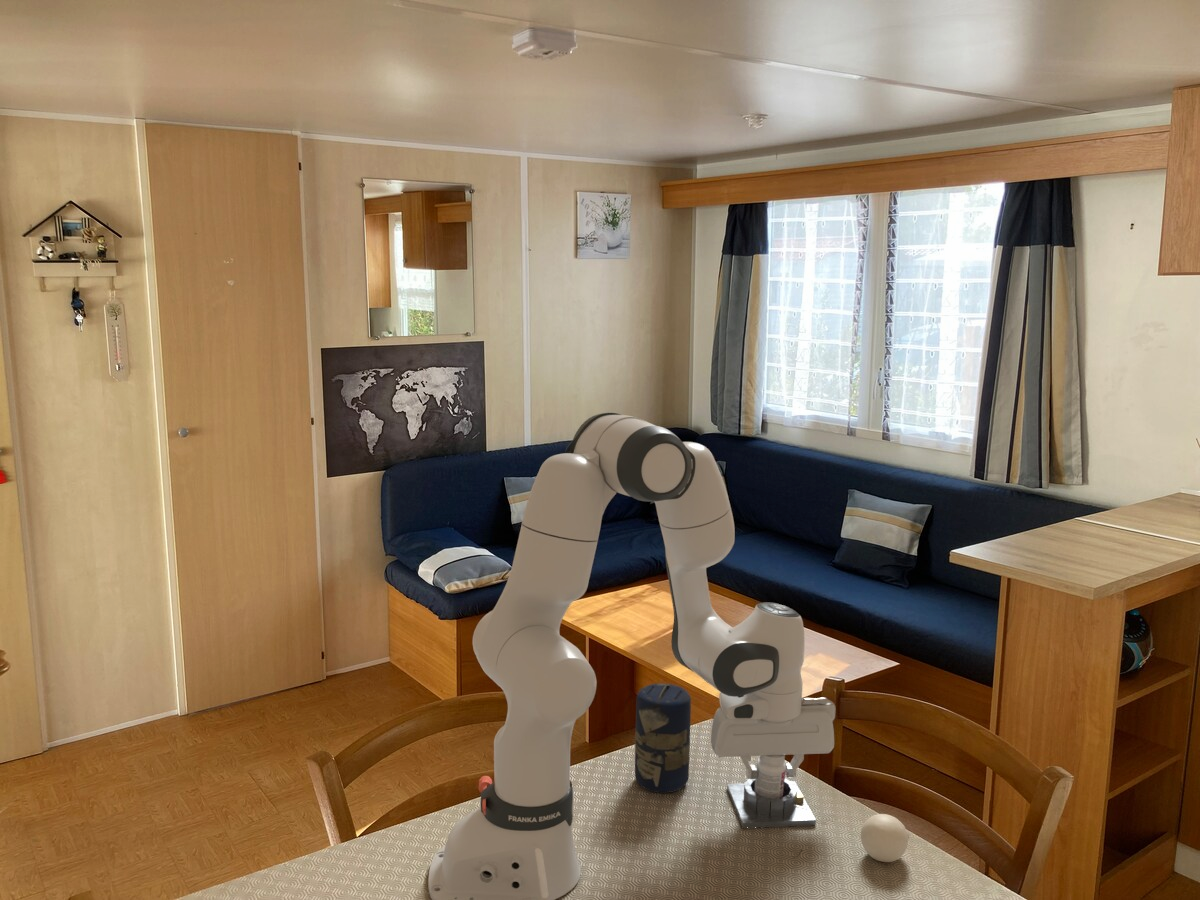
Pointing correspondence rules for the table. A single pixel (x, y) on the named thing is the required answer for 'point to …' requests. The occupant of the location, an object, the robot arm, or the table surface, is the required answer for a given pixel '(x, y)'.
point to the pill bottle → (770, 776)
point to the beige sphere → (884, 837)
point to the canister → (662, 737)
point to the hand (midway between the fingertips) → (770, 776)
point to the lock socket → (770, 806)
